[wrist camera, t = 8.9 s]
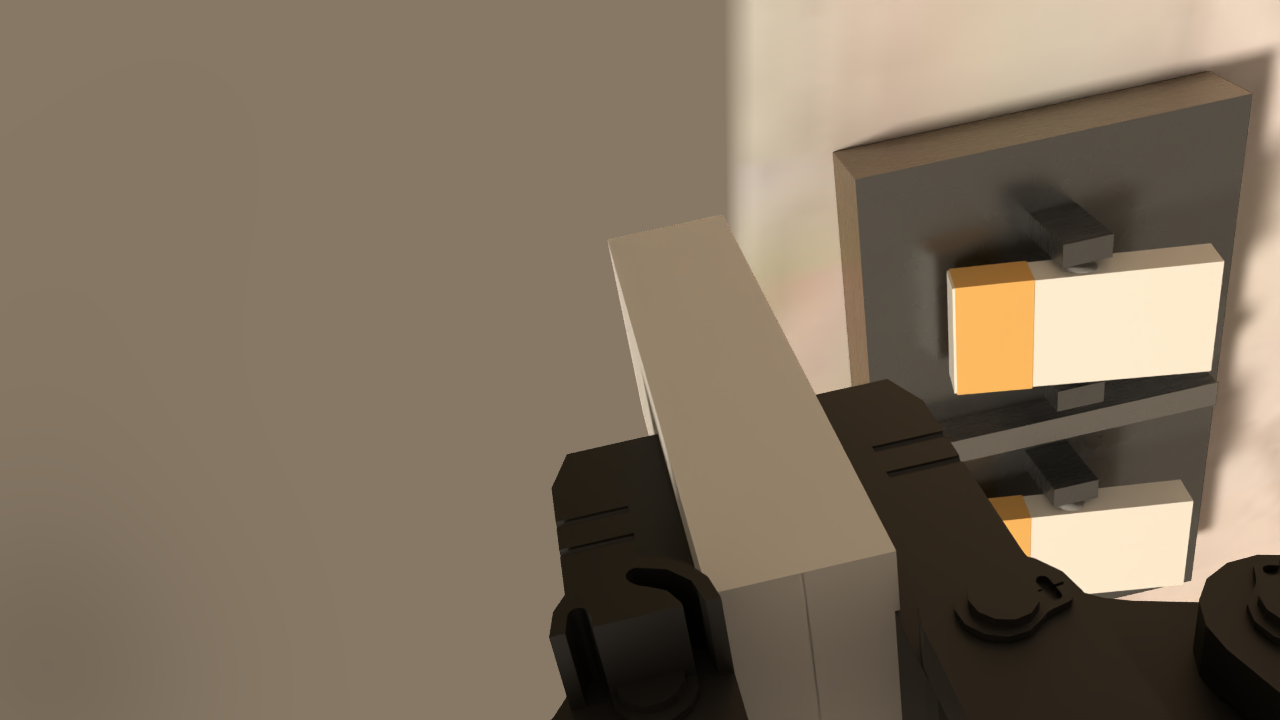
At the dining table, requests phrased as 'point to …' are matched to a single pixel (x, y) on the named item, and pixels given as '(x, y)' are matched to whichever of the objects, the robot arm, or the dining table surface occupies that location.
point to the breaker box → (1037, 231)
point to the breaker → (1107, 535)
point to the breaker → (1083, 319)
